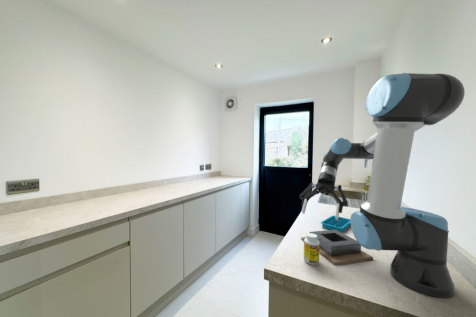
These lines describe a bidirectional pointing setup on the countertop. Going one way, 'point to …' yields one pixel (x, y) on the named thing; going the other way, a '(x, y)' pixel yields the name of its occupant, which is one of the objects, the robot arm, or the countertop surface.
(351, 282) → the countertop surface
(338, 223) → the ice cube tray
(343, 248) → the square socket
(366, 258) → the brown base board
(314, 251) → the supplement bottle
